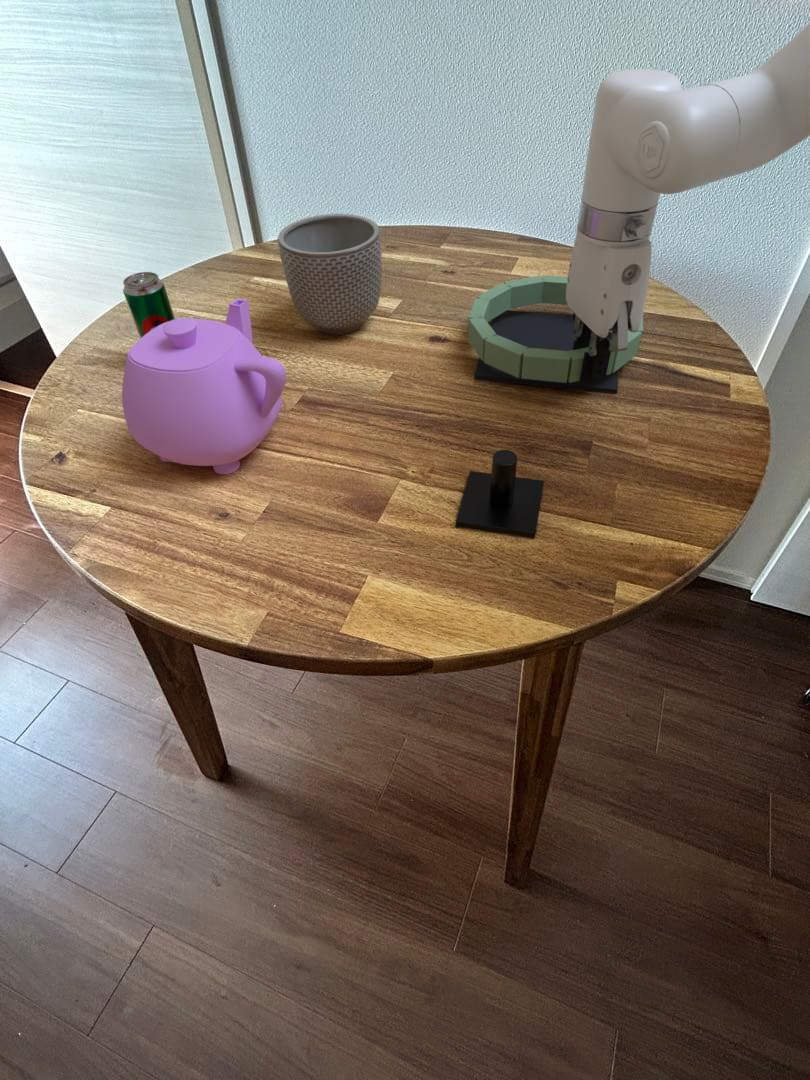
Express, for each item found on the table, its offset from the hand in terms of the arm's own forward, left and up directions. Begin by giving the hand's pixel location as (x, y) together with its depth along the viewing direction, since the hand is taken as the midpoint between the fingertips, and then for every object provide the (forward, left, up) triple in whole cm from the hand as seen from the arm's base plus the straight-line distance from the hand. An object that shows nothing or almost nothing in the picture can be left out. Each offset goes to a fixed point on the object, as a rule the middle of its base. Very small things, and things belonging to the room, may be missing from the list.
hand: (587, 373), depth 80 cm
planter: (+36, -11, -2) cm, 38 cm away
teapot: (+40, +17, -2) cm, 44 cm away
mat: (+5, -9, -2) cm, 10 cm away
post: (+7, +23, -2) cm, 24 cm away
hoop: (+5, -9, 0) cm, 10 cm away
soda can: (+56, +4, -2) cm, 56 cm away
